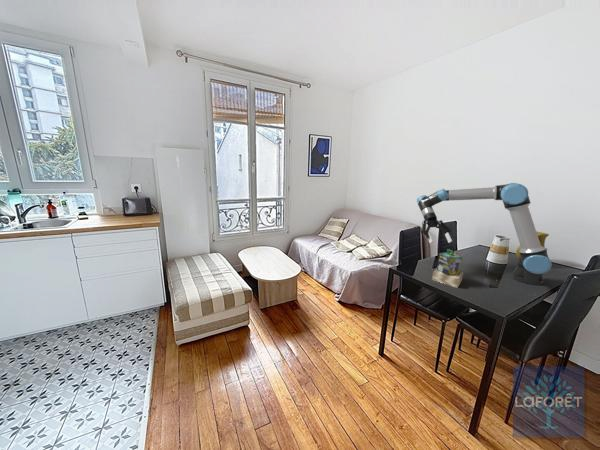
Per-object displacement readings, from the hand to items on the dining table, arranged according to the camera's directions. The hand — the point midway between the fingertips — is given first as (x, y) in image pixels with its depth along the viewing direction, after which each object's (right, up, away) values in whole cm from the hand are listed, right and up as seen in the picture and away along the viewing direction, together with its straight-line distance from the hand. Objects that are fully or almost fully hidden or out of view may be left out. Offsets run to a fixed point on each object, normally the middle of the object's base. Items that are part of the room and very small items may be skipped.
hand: (441, 242), depth 157 cm
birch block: (+2, -24, -3) cm, 25 cm away
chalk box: (+2, -19, -4) cm, 19 cm away
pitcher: (+86, -18, +30) cm, 92 cm away
